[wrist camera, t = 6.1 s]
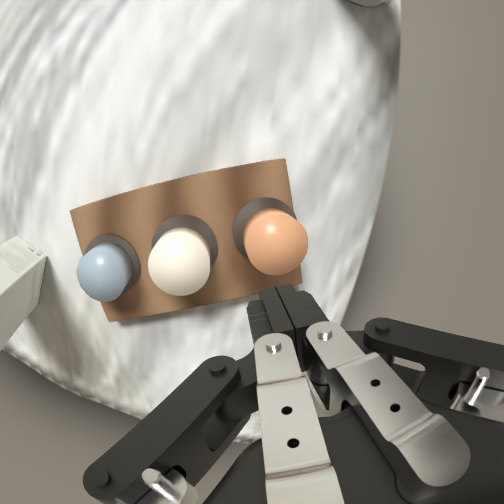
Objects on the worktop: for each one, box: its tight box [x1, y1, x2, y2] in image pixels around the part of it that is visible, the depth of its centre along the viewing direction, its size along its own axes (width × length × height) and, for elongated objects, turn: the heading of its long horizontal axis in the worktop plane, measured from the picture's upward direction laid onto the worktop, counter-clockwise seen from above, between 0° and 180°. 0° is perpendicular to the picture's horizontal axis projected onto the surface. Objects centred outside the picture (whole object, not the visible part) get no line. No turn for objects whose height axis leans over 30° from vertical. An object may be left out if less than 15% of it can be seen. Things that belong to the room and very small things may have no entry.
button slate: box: [77, 242, 133, 302], centre depth 24 cm, size 5×5×3 cm
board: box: [70, 159, 302, 322], centre depth 27 cm, size 22×13×2 cm, turn 100°
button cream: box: [148, 227, 210, 296], centre depth 22 cm, size 5×5×3 cm
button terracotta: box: [242, 208, 308, 275], centre depth 23 cm, size 5×5×3 cm
